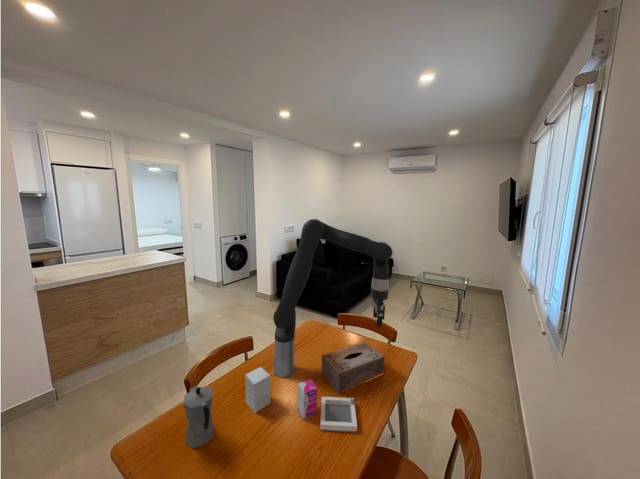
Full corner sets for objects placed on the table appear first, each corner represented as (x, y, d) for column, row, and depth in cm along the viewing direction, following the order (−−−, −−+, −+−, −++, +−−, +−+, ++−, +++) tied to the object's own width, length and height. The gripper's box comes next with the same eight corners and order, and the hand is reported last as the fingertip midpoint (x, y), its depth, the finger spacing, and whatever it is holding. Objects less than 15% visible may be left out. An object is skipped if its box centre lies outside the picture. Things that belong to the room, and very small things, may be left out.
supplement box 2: (303, 420, 93) (303, 393, 92) (297, 409, 98) (297, 382, 97) (317, 415, 96) (317, 388, 94) (310, 404, 101) (311, 378, 99)
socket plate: (320, 430, 90) (320, 423, 89) (321, 401, 102) (321, 395, 102) (356, 432, 89) (357, 425, 89) (353, 403, 102) (353, 397, 101)
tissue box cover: (338, 394, 107) (338, 373, 105) (321, 374, 119) (322, 354, 118) (383, 375, 119) (384, 356, 118) (363, 359, 132) (364, 341, 130)
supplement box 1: (261, 393, 106) (261, 366, 104) (271, 403, 101) (271, 375, 99) (245, 402, 101) (244, 374, 99) (254, 414, 96) (254, 384, 94)
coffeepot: (179, 430, 88) (177, 384, 85) (207, 415, 94) (205, 372, 92) (193, 464, 77) (191, 412, 74) (224, 444, 83) (222, 396, 81)
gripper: (368, 281, 118) (366, 314, 121) (374, 292, 104) (371, 329, 106) (384, 282, 118) (382, 315, 120) (392, 293, 104) (389, 330, 106)
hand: (377, 321), depth 113 cm, fingers open, 8 cm apart
